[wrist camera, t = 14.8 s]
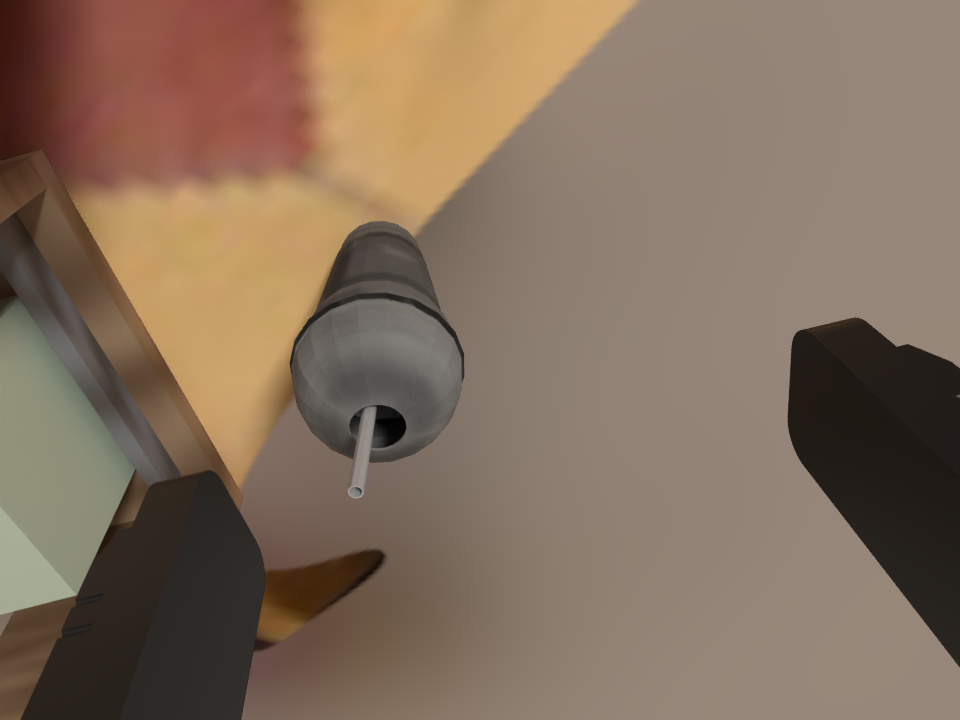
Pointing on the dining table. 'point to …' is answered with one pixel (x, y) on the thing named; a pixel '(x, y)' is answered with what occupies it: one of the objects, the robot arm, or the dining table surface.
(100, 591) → the robot arm
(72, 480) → the pale green rectangular block
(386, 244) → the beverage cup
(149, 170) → the dining table surface
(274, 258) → the dining table surface
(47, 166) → the wooden u-shaped holder
